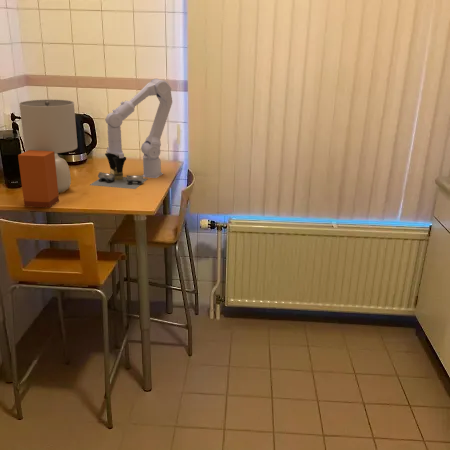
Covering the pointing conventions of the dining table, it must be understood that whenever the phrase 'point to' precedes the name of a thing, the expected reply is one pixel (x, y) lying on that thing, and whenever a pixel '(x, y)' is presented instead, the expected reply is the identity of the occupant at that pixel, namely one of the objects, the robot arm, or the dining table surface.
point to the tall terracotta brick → (38, 178)
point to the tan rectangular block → (116, 174)
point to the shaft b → (134, 179)
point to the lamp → (50, 132)
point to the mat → (117, 183)
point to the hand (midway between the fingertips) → (116, 170)
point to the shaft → (106, 177)
